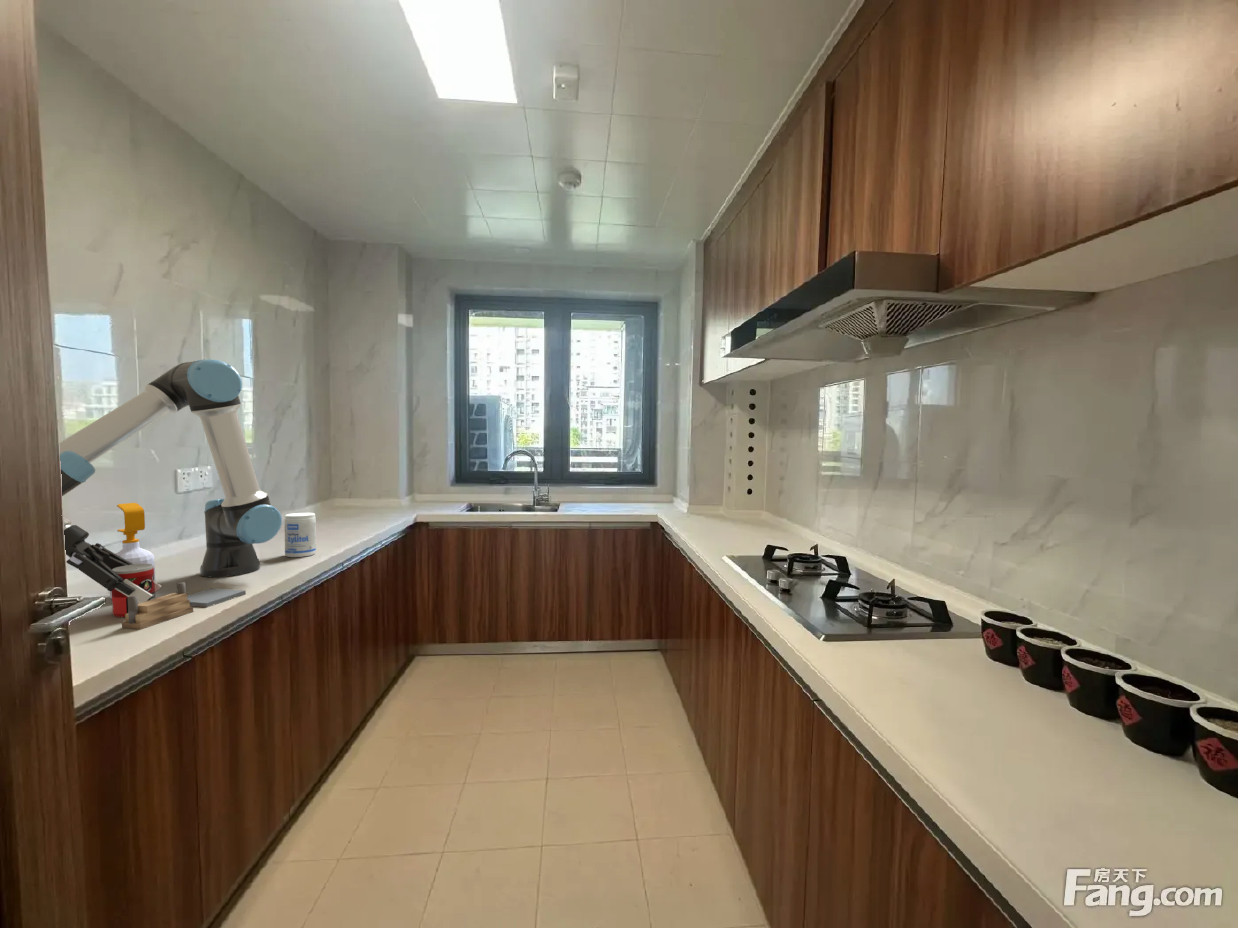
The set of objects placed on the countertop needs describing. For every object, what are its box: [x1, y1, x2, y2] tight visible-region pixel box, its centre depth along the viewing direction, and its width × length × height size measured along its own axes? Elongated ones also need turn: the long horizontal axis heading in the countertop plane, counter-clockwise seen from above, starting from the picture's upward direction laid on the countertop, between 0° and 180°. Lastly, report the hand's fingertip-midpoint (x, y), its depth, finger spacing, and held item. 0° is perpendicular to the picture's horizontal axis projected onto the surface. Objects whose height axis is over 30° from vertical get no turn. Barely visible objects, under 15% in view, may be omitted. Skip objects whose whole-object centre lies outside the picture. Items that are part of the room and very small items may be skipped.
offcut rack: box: [121, 581, 194, 630], centre depth 123 cm, size 12×5×7 cm, turn 169°
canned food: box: [111, 564, 156, 618], centre depth 128 cm, size 8×8×11 cm
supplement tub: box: [284, 512, 317, 558], centre depth 189 cm, size 10×10×15 cm
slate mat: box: [187, 587, 247, 608], centre depth 138 cm, size 11×11×1 cm
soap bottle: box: [109, 502, 156, 600], centre depth 141 cm, size 9×9×25 cm
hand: (152, 595), depth 130 cm, fingers open, 8 cm apart
